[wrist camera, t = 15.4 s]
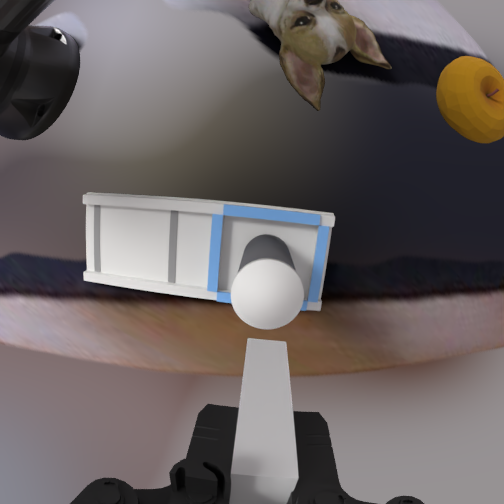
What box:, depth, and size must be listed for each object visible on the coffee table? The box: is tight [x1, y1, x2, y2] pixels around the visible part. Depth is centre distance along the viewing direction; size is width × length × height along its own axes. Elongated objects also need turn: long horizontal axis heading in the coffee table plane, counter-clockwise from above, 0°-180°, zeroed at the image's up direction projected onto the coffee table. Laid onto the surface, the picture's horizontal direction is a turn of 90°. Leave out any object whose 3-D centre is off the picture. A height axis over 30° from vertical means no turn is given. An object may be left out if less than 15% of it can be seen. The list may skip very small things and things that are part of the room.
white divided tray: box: [83, 192, 335, 311], centre depth 31 cm, size 10×26×2 cm, turn 85°
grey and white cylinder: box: [231, 234, 304, 329], centre depth 26 cm, size 5×5×11 cm
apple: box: [436, 56, 504, 143], centre depth 22 cm, size 9×9×9 cm
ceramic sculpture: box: [249, 0, 392, 111], centre depth 23 cm, size 11×9×15 cm
